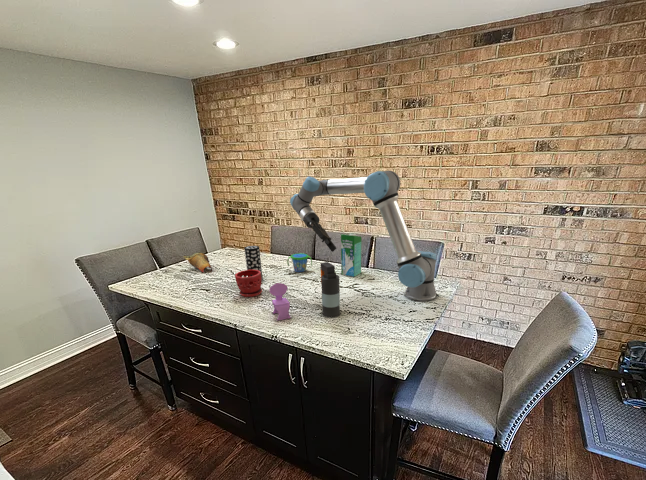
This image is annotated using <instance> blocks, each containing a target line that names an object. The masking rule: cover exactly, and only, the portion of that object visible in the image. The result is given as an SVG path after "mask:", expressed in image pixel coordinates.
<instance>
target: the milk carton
mask: <svg viewBox="0 0 646 480" xmlns="http://www.w3.org/2000/svg"><path fill="white" fill-rule="evenodd" d="M340 267H341V268H340V269H341V270H340V271H341V273H340V274H341V275H342V276H348V277H357V276H358V275H359V274H361V273H362V236H360V235H357V233H353V232H349V234H343V233H341V234H340Z"/></svg>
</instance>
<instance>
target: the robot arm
mask: <svg viewBox="0 0 646 480" xmlns="http://www.w3.org/2000/svg"><path fill="white" fill-rule="evenodd" d="M400 188H401V178H400V176H399V175H398V173H396V172H395V171H394V170H377V171H374V172H372V173H370V174H369V175H368V176H360V177H359V176H357V177H347V178H333V179H321V180H318V179H317V178H315V177H314V176H307V177H305V180H304V181H303V183H302V185H301V187H300V190H299V191H298V193H295V194H293V196H291V197H290V200H289V204H290V206H291V207H292V209H293V210H294V211H295V213H296V214H297V215H298V216H299V218H300V221H301V222H303V223H304V225H305V226H306V228H308V229H312V230H313V232H315V234H316V235H317V236H318V238H319V239H320V240H321V242H322V243H325V245H326V246H327V248H328V249H329V250H330V252H332V253H334V252H335V250H337V246H336V245H335V244H334V243H333V241H332V237H331V236H329V234H328V232H327V230H326V229H325V228H324V227H323V226H322V224H321V223H320V217H319V216H318V214H317V213H316V212H315V210H314V209H313V208H312V207H311V206H310V204H311V203H312V202H313V199H314V198H315V197H320V196H331V195H351V194H364V195H365V196H366V198H368V199H369V200H370V201H372V204H373V207H374V208H376V209H378V210H379V212H380V215H381V218H382V220H383V222H384V225H385V228H386V230H387V232H388V235H389V237H390V241H391V243H392V245H393V248H394V250H395V253H396V255H397V260H396V264H397V267H398V272H397V277H398V280H399V282H400V284H402V285H403V286H405V287H406V289H405V297H406V298H407V299H410V300H413V301H418V302H429V301H433V300H435V299H436V298H437V297H440V295H439V294H438V293H437V290H436V286H435V274H436V273H435V272H436V265H437V254H436V253H434V252H432V251H426V250H417V249H416V247H415V244H414V242H413V241H414V240H413V239H412V236H411V234H410V231H409V229H408V226H407V224H406V221H405V218H404V216H403V213H402V210H401V208H400V205H399V202H398V199H399V198H400V195H399V193H398V191H399V190H400Z"/></svg>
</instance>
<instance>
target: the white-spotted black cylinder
mask: <svg viewBox="0 0 646 480" xmlns="http://www.w3.org/2000/svg"><path fill="white" fill-rule="evenodd" d="M243 249H244V257H245V265H246V270H259V271H260V272H261V279H262V282H263V280H264V278H263V268H262V261H261V250H260V246H259V245H248V246H247V245H246V246H244V247H243ZM250 276H253V275H250Z"/></svg>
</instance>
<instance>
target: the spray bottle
mask: <svg viewBox="0 0 646 480" xmlns="http://www.w3.org/2000/svg"><path fill="white" fill-rule="evenodd" d="M321 270H322V271H324V275H323V276H321V275H320V284H321V311H322V316H323V317H325V318H337V317H339V316H340V315H341V296H340V295H341V292H340V290H341V289H340V276H339V275H338V274H337V273H336V266H335V265H334V264H332V263H330V262H328V261H325V262H320V271H321Z"/></svg>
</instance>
